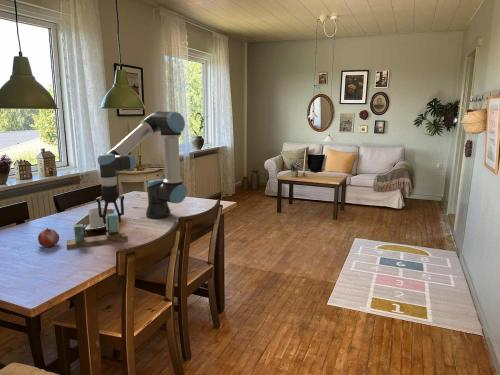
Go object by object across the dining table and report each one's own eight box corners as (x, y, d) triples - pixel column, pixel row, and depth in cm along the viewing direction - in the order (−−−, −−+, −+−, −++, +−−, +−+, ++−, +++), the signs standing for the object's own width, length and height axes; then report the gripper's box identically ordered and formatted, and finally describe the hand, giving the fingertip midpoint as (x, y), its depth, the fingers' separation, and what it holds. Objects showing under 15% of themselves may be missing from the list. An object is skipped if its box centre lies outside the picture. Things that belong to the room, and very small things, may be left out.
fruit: (44, 242, 187) (41, 223, 185) (63, 242, 188) (61, 223, 186) (34, 249, 178) (32, 229, 176) (54, 248, 179) (52, 229, 177)
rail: (125, 235, 197) (124, 218, 195) (127, 240, 191) (125, 221, 188) (67, 244, 185) (65, 225, 183) (67, 248, 179) (64, 229, 177)
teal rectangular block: (117, 227, 193) (115, 213, 191) (117, 230, 189) (116, 215, 187) (107, 228, 191) (106, 214, 189) (108, 231, 187) (107, 216, 185)
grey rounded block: (101, 232, 203) (99, 212, 200) (87, 230, 205) (85, 211, 202) (113, 225, 214) (112, 206, 212) (99, 224, 216) (98, 205, 214)
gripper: (126, 181, 192) (129, 224, 197) (89, 184, 184) (93, 229, 189) (128, 184, 185) (131, 228, 190) (90, 187, 178) (94, 233, 183)
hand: (112, 228), depth 190 cm, fingers closed on teal rectangular block, 5 cm apart
